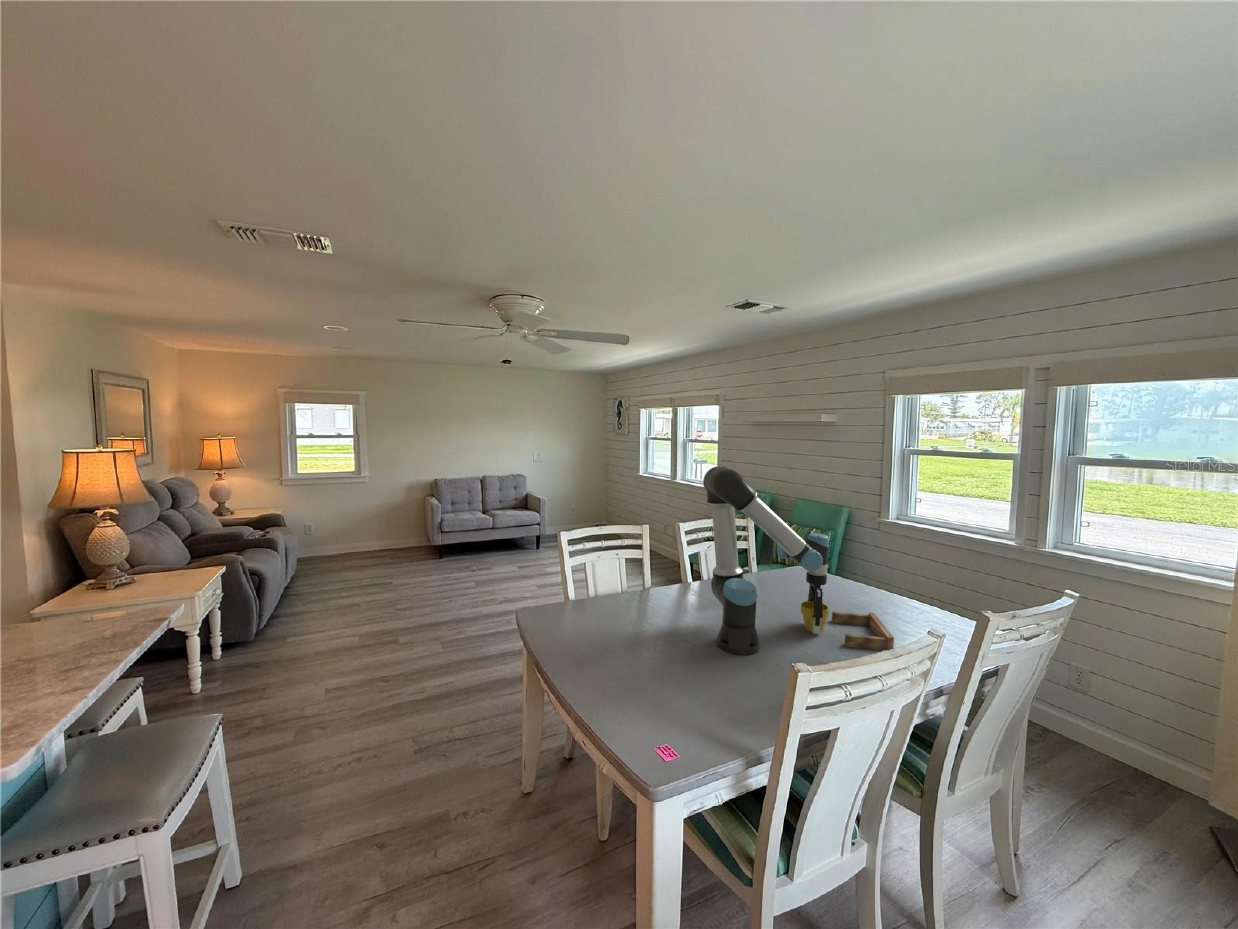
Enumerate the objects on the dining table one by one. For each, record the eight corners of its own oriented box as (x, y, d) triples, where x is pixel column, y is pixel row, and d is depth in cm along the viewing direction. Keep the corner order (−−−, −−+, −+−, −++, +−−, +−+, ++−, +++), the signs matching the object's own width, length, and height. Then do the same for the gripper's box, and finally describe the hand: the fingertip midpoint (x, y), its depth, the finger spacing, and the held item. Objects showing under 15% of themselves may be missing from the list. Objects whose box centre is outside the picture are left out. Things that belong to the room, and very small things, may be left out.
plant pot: (809, 636, 190) (810, 611, 189) (794, 625, 200) (795, 601, 199) (833, 634, 192) (834, 609, 191) (817, 623, 202) (819, 600, 201)
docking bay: (845, 646, 181) (846, 633, 181) (831, 620, 205) (832, 609, 204) (893, 651, 178) (894, 638, 178) (873, 624, 201) (874, 612, 201)
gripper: (833, 582, 182) (830, 640, 184) (821, 565, 204) (818, 617, 206) (811, 581, 183) (808, 638, 185) (802, 564, 206) (799, 615, 208)
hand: (813, 627), depth 196 cm, fingers closed on plant pot, 10 cm apart
